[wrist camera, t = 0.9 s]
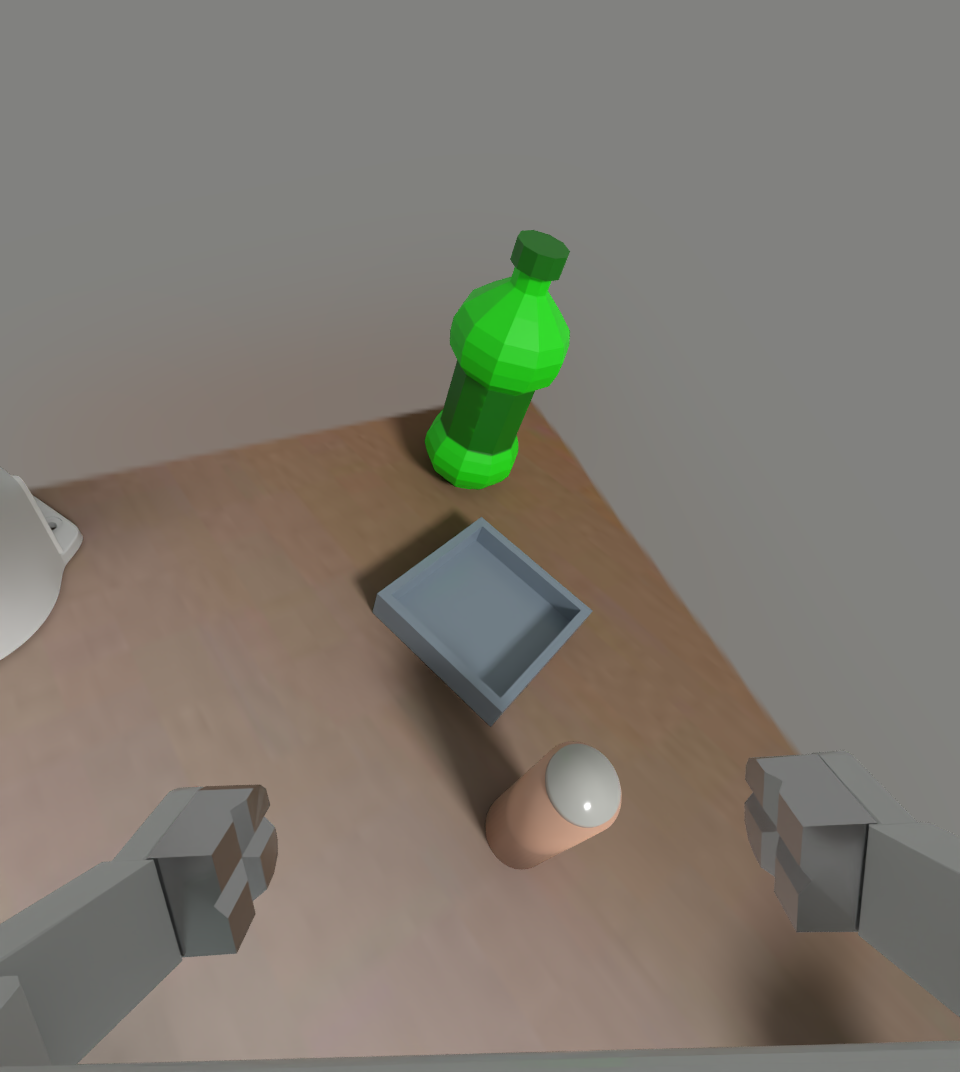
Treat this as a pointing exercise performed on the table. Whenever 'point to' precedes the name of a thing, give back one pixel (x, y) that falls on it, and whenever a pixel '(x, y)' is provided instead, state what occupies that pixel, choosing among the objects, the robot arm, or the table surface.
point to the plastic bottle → (500, 365)
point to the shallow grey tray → (481, 617)
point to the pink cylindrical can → (554, 806)
